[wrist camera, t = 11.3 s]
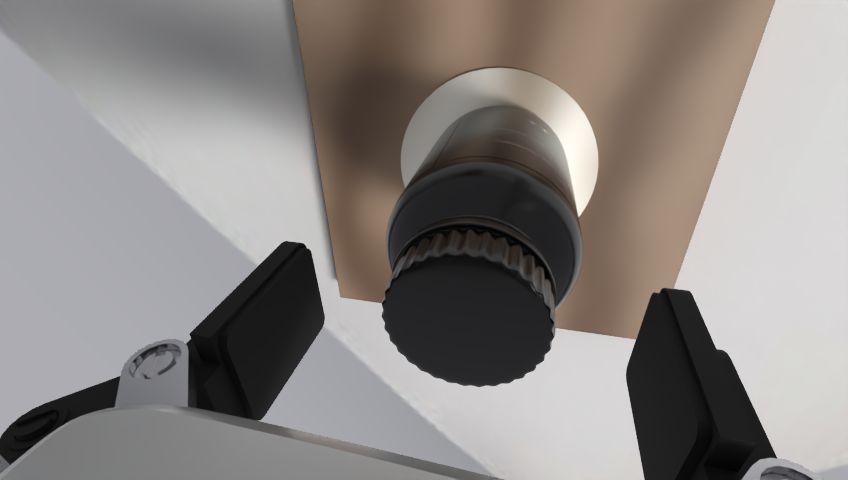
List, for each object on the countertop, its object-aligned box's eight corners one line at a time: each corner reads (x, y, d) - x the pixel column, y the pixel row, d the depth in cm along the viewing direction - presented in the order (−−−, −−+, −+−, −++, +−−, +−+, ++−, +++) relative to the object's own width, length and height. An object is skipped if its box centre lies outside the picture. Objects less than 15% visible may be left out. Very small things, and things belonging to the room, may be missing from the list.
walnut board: (784, -80, 15) (808, -87, 14) (649, 325, 26) (655, 344, 24) (299, -52, 20) (280, -56, 18) (348, 284, 30) (339, 299, 29)
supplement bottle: (507, 250, 23) (480, 442, 14) (409, 178, 23) (304, 326, 13) (601, 159, 20) (660, 332, 10) (488, 69, 19) (427, 157, 9)
